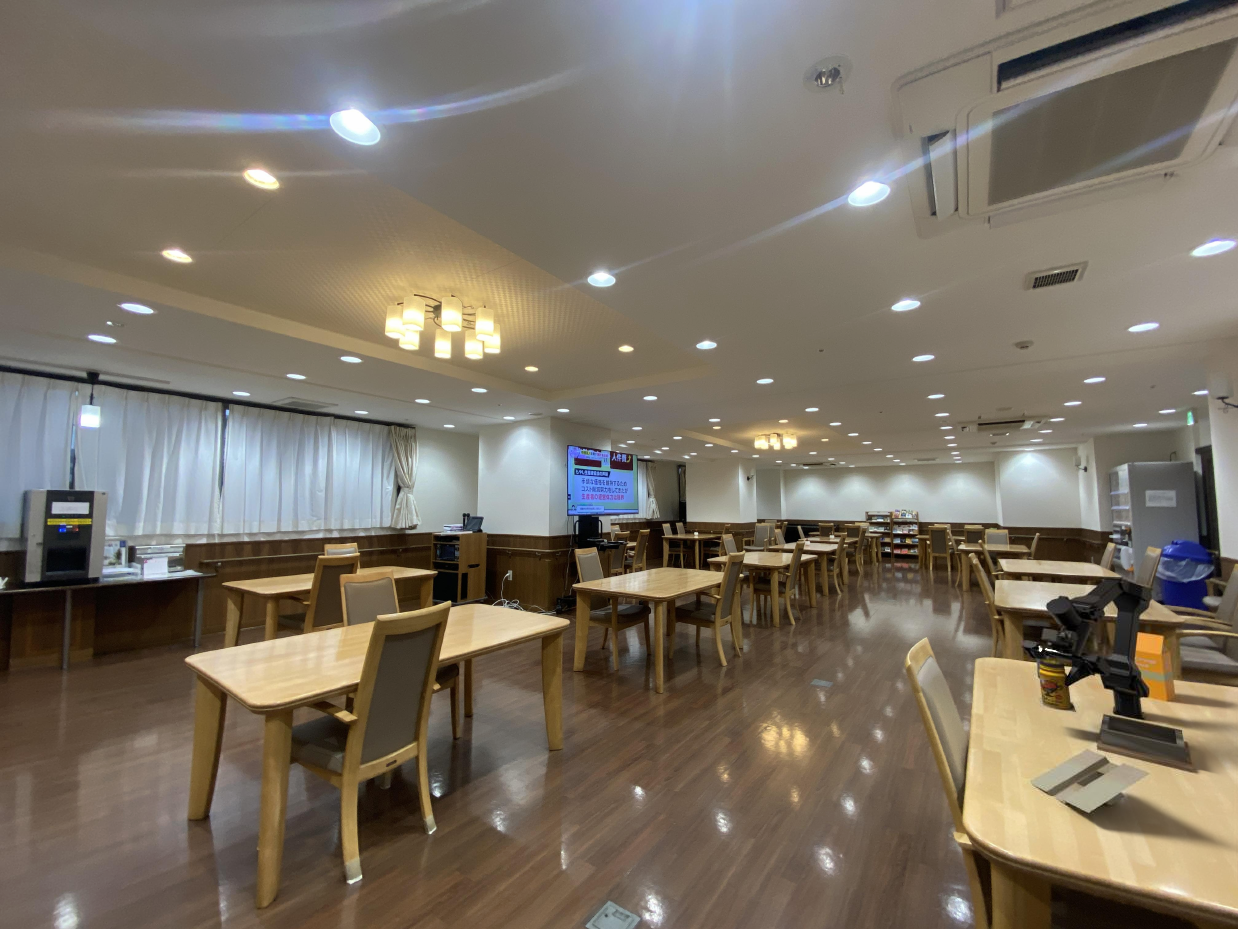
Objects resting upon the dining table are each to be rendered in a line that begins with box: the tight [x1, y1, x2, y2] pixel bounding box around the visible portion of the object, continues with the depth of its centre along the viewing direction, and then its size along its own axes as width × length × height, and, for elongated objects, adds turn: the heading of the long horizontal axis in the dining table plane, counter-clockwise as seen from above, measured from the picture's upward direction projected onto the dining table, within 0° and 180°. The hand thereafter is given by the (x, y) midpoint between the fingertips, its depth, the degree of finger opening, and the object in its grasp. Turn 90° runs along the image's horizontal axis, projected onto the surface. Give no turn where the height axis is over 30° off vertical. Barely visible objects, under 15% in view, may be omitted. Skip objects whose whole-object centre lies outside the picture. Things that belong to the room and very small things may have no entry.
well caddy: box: [1096, 713, 1194, 773], centre depth 126 cm, size 20×16×4 cm
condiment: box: [1038, 659, 1077, 713], centre depth 137 cm, size 7×8×12 cm
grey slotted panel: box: [1029, 749, 1151, 814], centre depth 102 cm, size 16×9×15 cm
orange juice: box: [1135, 631, 1177, 702], centre depth 164 cm, size 8×9×20 cm
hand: (1052, 681), depth 137 cm, fingers closed on condiment, 6 cm apart
